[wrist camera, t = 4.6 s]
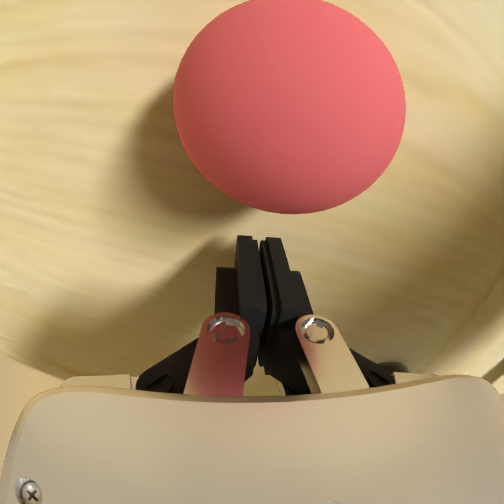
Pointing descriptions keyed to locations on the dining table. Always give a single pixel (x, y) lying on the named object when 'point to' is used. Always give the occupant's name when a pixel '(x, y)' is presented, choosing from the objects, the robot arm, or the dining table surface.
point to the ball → (289, 105)
